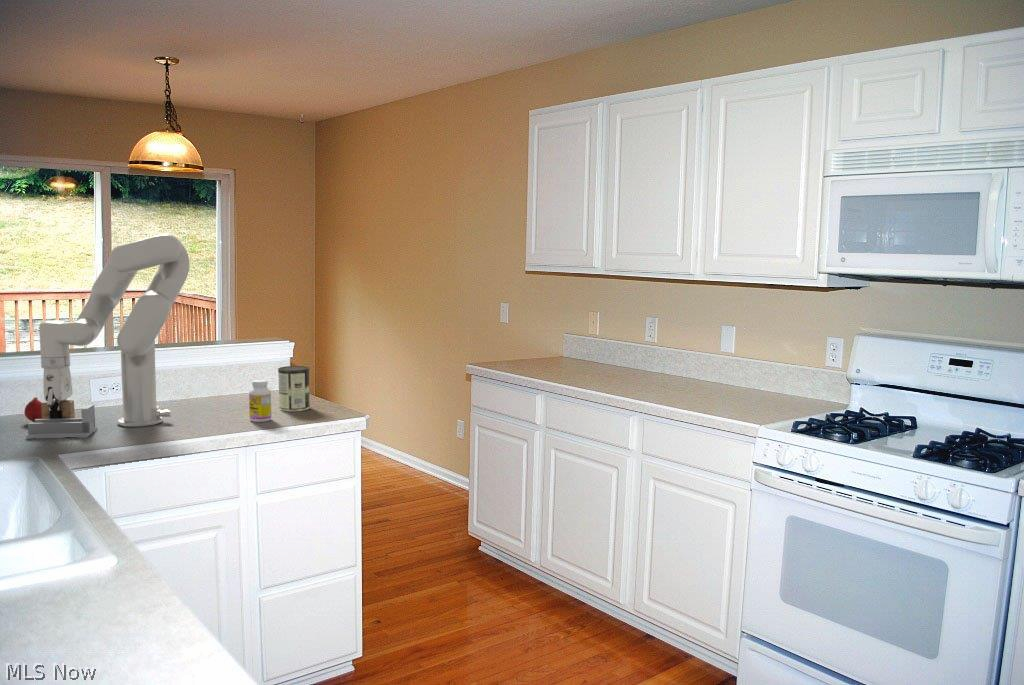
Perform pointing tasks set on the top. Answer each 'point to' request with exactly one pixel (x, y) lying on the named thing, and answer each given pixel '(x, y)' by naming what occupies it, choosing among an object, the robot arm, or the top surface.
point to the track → (64, 426)
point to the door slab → (66, 408)
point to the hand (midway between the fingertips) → (58, 421)
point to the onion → (33, 410)
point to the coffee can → (293, 388)
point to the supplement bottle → (260, 401)
